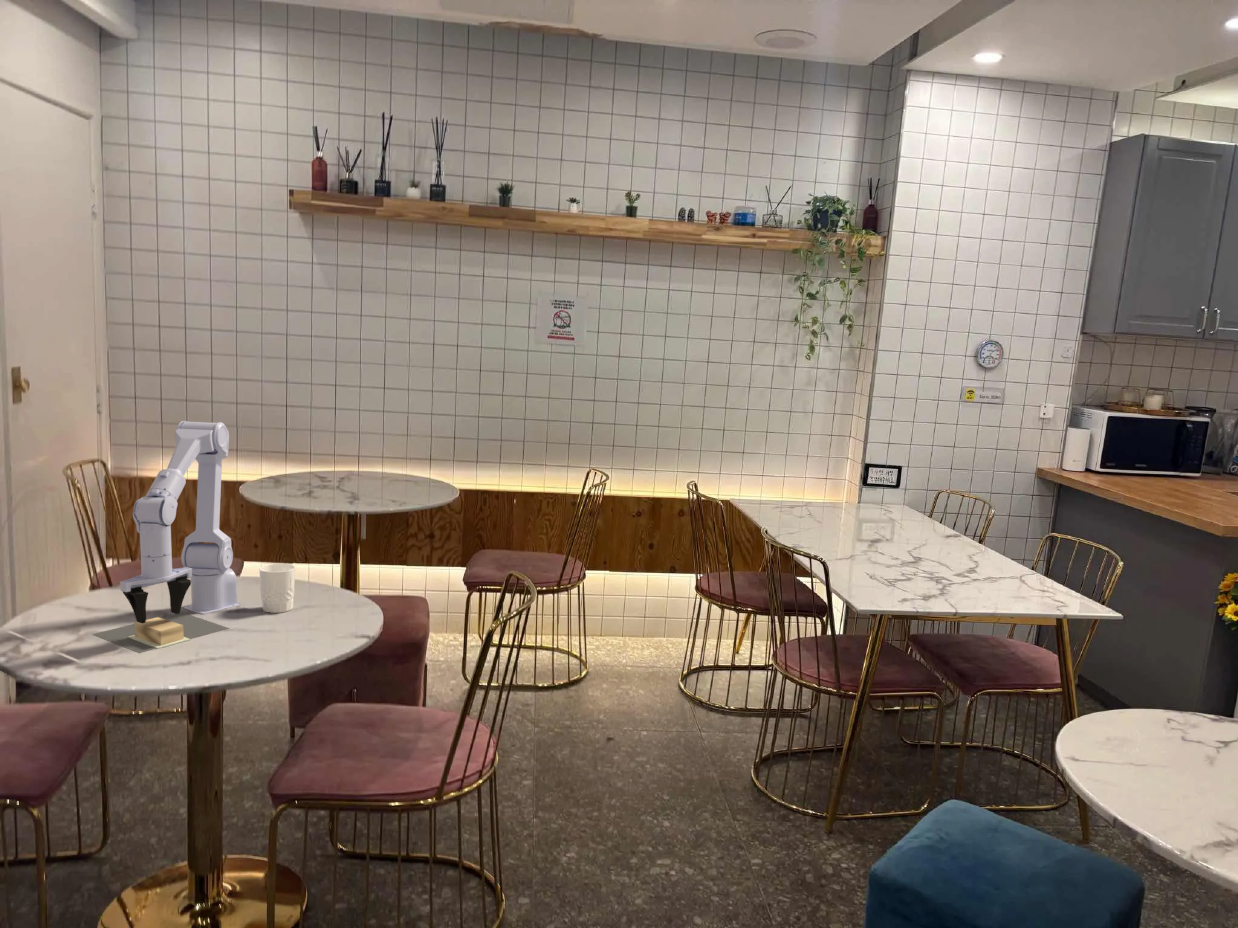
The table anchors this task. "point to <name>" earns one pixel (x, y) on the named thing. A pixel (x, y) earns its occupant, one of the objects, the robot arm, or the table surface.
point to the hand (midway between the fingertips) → (158, 617)
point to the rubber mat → (127, 639)
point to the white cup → (277, 587)
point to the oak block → (159, 631)
